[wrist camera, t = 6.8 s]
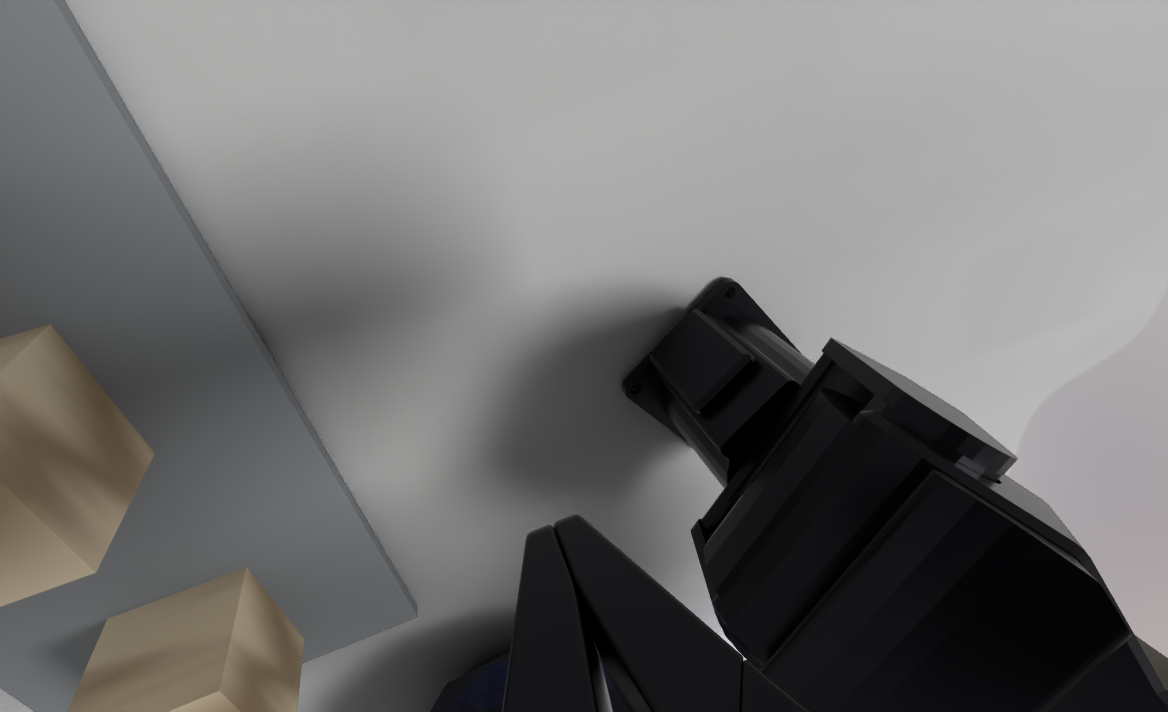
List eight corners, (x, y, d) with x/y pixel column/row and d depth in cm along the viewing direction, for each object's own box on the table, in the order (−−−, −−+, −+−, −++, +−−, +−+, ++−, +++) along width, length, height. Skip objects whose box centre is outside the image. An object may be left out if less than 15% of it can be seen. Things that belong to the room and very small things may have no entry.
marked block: (304, 638, 25) (291, 763, 21) (180, 687, 24) (141, 828, 20) (246, 567, 22) (218, 693, 18) (104, 620, 21) (40, 766, 17)
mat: (416, 605, 27) (417, 616, 26) (95, 735, 24) (89, 749, 24) (-133, -339, 11) (-158, -358, 10) (-1257, -232, 8) (-1361, -248, 8)
